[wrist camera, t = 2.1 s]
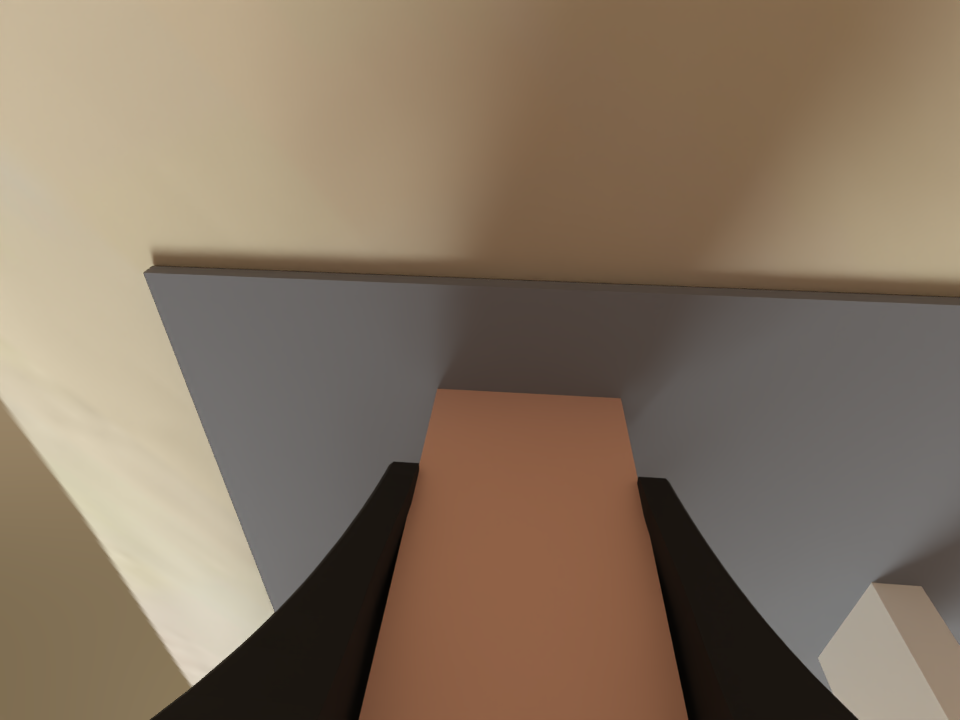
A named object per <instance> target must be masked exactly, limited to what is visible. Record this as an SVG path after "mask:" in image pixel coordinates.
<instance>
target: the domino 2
mask: <svg viewBox="0 0 960 720" xmlns="http://www.w3.org/2000/svg"><path fill="white" fill-rule="evenodd" d="M818 659H819V662H820V664H821V667H822V669H823V671H824V674H825V676H826V678H827V681H828V683H829V686H830V688H831V690H832V693H833V695H834V696H835V697H836V698H837V699H838V700H839V701H840V702H841V703H842V704H843V705H844V706H845V707H846V708H847V709H848V710H849V711H850V712H852V713H853V714H854V715H855V716H856V717H857V718H858V719H859V720H960V645H959V644H958V642H957V641H956V639H955V638H954V636H953V635H952V633H951V631H950V630H949V628H948V627H947V625H946V624H945V622H944V621H943V619H942V617H941V616H940V614H939V613H938V611H937V610H936V608H935V607H934V605H933V603H932V602H931V600H930V599H929V597H928V596H927V594H926V593H925V591H924V589H923V588H922V586H912V585H898V584H884V583H871V584H870V585H869V587H868V588H867V590H866V591H865V592H864V594H863V595H862V597H861V598H860V599H859V601H858V602H857V604H856V605H855V606H854V608H853V609H852V611H851V612H850V613H849V615H848V616H847V618H846V619H845V620H844V622H843V623H842V625H841V626H840V627H839V629H838V630H837V632H836V633H835V634H834V636H833V637H832V639H831V640H830V641H829V643H828V644H827V646H826V647H825V648H824V650H823V651H822V653H821V654H820V655H819V657H818Z"/></svg>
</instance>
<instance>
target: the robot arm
mask: <svg viewBox="0 0 960 720" xmlns="http://www.w3.org/2000/svg"><path fill="white" fill-rule="evenodd" d="M418 473H419V463H411V462H394V461H393V462H392V463H391V464H389V466H388V468H387V469H386V471H385V473H384V475H383V476H382V478H381V479H380V481H379V483H378V484H377V486H376V487H375V489H374V491H373V492H372V494H371V495H370V497H369V498H368V500H367V501H366V503H365V504H364V506H363V507H362V509H361V510H360V511H359V513H358V514H357V515H356V517H355V518H354V520H353V521H352V522H351V524H350V525H349V527H348V528H347V529H346V531H345V532H344V533H343V535H342V536H341V537H340V539H339V540H338V541H337V542H336V544H335V545H334V546H333V547H332V549H331V550H330V551H329V552H328V554H327V555H326V556H325V557H324V559H323V560H322V561H321V562H320V564H319V565H318V566H317V567H316V568H315V570H314V571H313V572H312V573H311V574H310V575H309V576H308V578H307V579H306V580H305V581H304V582H303V583H302V584H301V585H300V587H299V588H298V589H297V590H296V591H295V592H294V593H293V594H292V595H291V596H290V597H289V598H288V599H287V601H286V602H285V603H284V604H283V605H282V606H281V607H280V608H279V609H278V610H277V611H276V612H275V613H274V614H273V615H272V616H271V617H270V618H269V619H268V620H267V621H266V622H265V623H264V624H263V625H262V626H261V627H260V628H259V629H258V630H257V631H256V632H254V633H253V634H252V635H251V636H250V637H249V638H248V639H247V640H246V641H245V642H244V643H243V644H242V645H240V646H239V647H238V648H237V649H236V650H235V651H234V652H232V653H231V654H230V655H229V656H228V657H227V658H226V659H224V660H223V661H222V662H221V663H220V664H219V665H217V666H216V667H215V668H214V669H213V670H212V671H210V672H209V673H208V674H207V675H206V676H205V677H204V678H202V679H201V680H200V681H199V682H198V683H196V684H195V685H194V686H193V687H191V688H190V689H189V690H188V691H187V692H185V693H184V694H183V695H181V696H180V697H179V698H177V699H176V700H175V701H174V702H172V703H171V704H170V705H168V706H167V707H166V708H164V709H163V710H162V711H161V712H159V713H158V714H157V715H156V716H154V717H153V718H151V719H150V720H359V717H360V712H361V708H362V704H363V700H364V695H365V691H366V687H367V683H368V679H369V674H370V670H371V666H372V662H373V657H374V653H375V649H376V645H377V641H378V636H379V632H380V628H381V624H382V620H383V615H384V611H385V607H386V603H387V598H388V594H389V590H390V586H391V582H392V577H393V573H394V569H395V565H396V561H397V556H398V552H399V548H400V544H401V539H402V535H403V531H404V527H405V523H406V518H407V515H408V512H409V509H410V506H411V503H412V499H413V495H414V491H415V486H416V482H417V478H418ZM637 485H638V490H639V495H640V500H641V505H642V510H643V514H644V519H645V522H646V525H647V529H648V532H649V535H650V539H651V544H652V549H653V554H654V558H655V563H656V568H657V573H658V578H659V582H660V587H661V592H662V597H663V601H664V606H665V611H666V616H667V620H668V625H669V630H670V635H671V639H672V644H673V649H674V654H675V659H676V663H677V668H678V673H679V678H680V682H681V687H682V692H683V697H684V701H685V706H686V711H687V716H688V720H859V719H858V718H857V717H856V716H855V715H854V714H853V713H852V712H850V711H849V710H848V709H847V708H846V707H845V706H844V705H843V704H842V703H841V702H840V701H839V700H838V699H837V698H836V697H835V696H834V695H833V694H832V693H831V692H830V691H829V690H828V689H827V688H826V687H825V686H824V685H823V684H822V683H821V682H820V681H819V680H818V679H817V678H816V677H815V676H814V675H813V673H812V672H811V671H810V670H809V669H808V668H807V667H806V666H805V665H804V664H803V663H802V662H801V661H800V659H799V658H798V657H797V656H796V655H795V654H794V653H793V652H792V651H791V650H790V649H789V647H788V646H787V645H786V644H785V643H784V642H783V641H782V639H781V638H780V637H779V636H778V635H777V634H776V632H775V631H774V630H773V629H772V628H771V627H770V626H769V624H768V623H767V622H766V621H765V620H764V618H763V617H762V616H761V615H760V613H759V612H758V611H757V610H756V608H755V607H754V606H753V605H752V603H751V602H750V601H749V600H748V598H747V597H746V596H745V594H744V593H743V592H742V591H741V589H740V588H739V587H738V585H737V584H736V583H735V581H734V580H733V579H732V577H731V576H730V575H729V573H728V572H727V570H726V569H725V568H724V566H723V565H722V563H721V562H720V561H719V559H718V558H717V556H716V555H715V553H714V552H713V550H712V549H711V548H710V546H709V545H708V543H707V542H706V540H705V539H704V537H703V536H702V534H701V533H700V531H699V530H698V528H697V527H696V525H695V523H694V522H693V520H692V519H691V517H690V516H689V514H688V512H687V511H686V509H685V508H684V506H683V504H682V503H681V501H680V499H679V498H678V496H677V494H676V493H675V491H674V489H673V487H672V486H671V484H670V482H669V481H668V480H667V479H666V478H653V477H638V481H637Z"/></svg>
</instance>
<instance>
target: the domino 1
mask: <svg viewBox="0 0 960 720" xmlns="http://www.w3.org/2000/svg"><path fill="white" fill-rule="evenodd" d="M637 481H638V477H637V473H636V468H635V463H634V458H633V454H632V449H631V444H630V439H629V435H628V430H627V425H626V420H625V416H624V411H623V406H622V401H621V398H605V397H586V396H567V395H548V394H529V393H510V392H491V391H472V390H453V389H437V392H436V396H435V400H434V405H433V409H432V413H431V417H430V421H429V426H428V430H427V434H426V438H425V442H424V447H423V451H422V455H421V459H420V464H419V473H418V478H417V482H416V486H415V491H414V495H413V499H412V503H411V506H410V509H409V512H408V515H407V518H406V523H405V527H404V531H403V535H402V539H401V544H400V548H399V552H398V556H397V561H396V565H395V569H394V573H393V577H392V582H391V586H390V590H389V594H388V598H387V603H386V607H385V611H384V615H383V620H382V624H381V628H380V632H379V636H378V641H377V645H376V649H375V653H374V657H373V662H372V666H371V670H370V674H369V679H368V683H367V687H366V691H365V695H364V700H363V704H362V708H361V712H360V717H359V720H688V716H687V711H686V706H685V701H684V697H683V692H682V687H681V682H680V678H679V673H678V668H677V663H676V659H675V654H674V649H673V644H672V639H671V635H670V630H669V625H668V620H667V616H666V611H665V606H664V601H663V597H662V592H661V587H660V582H659V578H658V573H657V568H656V563H655V558H654V554H653V549H652V544H651V539H650V535H649V532H648V529H647V525H646V522H645V519H644V514H643V510H642V505H641V500H640V495H639V490H638V485H637Z"/></svg>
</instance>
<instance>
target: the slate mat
mask: <svg viewBox="0 0 960 720" xmlns="http://www.w3.org/2000/svg"><path fill="white" fill-rule="evenodd" d="M144 276H145V278H146V281H147V284H148V286H149V289H150V291H151V294H152V296H153V299H154V302H155V304H156V307H157V309H158V312H159V315H160V317H161V320H162V322H163V325H164V327H165V330H166V333H167V335H168V338H169V340H170V343H171V346H172V348H173V351H174V353H175V356H176V358H177V361H178V364H179V366H180V369H181V371H182V374H183V377H184V379H185V382H186V384H187V387H188V389H189V392H190V395H191V397H192V400H193V402H194V405H195V408H196V410H197V413H198V415H199V418H200V420H201V423H202V426H203V428H204V431H205V433H206V436H207V439H208V441H209V444H210V446H211V449H212V451H213V454H214V457H215V459H216V462H217V464H218V467H219V470H220V472H221V475H222V477H223V480H224V482H225V485H226V488H227V490H228V493H229V495H230V498H231V501H232V503H233V506H234V508H235V511H236V513H237V516H238V519H239V521H240V524H241V526H242V529H243V532H244V534H245V537H246V539H247V542H248V544H249V547H250V550H251V552H252V555H253V557H254V560H255V563H256V565H257V568H258V570H259V573H260V575H261V578H262V581H263V583H264V586H265V588H266V591H267V594H268V596H269V599H270V601H271V604H272V606H273V609H274V612H276V611H277V610H278V609H279V608H280V607H281V606H282V605H283V604H284V603H285V602H286V601H287V599H288V598H289V597H290V596H291V595H292V594H293V593H294V592H295V591H296V590H297V589H298V588H299V587H300V585H301V584H302V583H303V582H304V581H305V580H306V579H307V578H308V576H309V575H310V574H311V573H312V572H313V571H314V570H315V568H316V567H317V566H318V565H319V564H320V562H321V561H322V560H323V559H324V557H325V556H326V555H327V554H328V552H329V551H330V550H331V549H332V547H333V546H334V545H335V544H336V542H337V541H338V540H339V539H340V537H341V536H342V535H343V533H344V532H345V531H346V529H347V528H348V527H349V525H350V524H351V522H352V521H353V520H354V518H355V517H356V515H357V514H358V513H359V511H360V510H361V509H362V507H363V506H364V504H365V503H366V501H367V500H368V498H369V497H370V495H371V494H372V492H373V491H374V489H375V487H376V486H377V484H378V483H379V481H380V479H381V478H382V476H383V475H384V473H385V471H386V469H387V468H388V466H389V464H391V463H392V462H393V461H394V462H411V463H419V464H420V459H421V455H422V451H423V447H424V442H425V438H426V434H427V430H428V426H429V421H430V417H431V413H432V409H433V405H434V400H435V396H436V392H437V389H453V390H472V391H491V392H510V393H529V394H548V395H567V396H586V397H605V398H621V401H622V406H623V411H624V416H625V420H626V425H627V430H628V435H629V439H630V444H631V449H632V454H633V458H634V463H635V468H636V473H637V477H653V478H666V479H667V480H668V481H669V482H670V484H671V486H672V487H673V489H674V491H675V493H676V494H677V496H678V498H679V499H680V501H681V503H682V504H683V506H684V508H685V509H686V511H687V512H688V514H689V516H690V517H691V519H692V520H693V522H694V523H695V525H696V527H697V528H698V530H699V531H700V533H701V534H702V536H703V537H704V539H705V540H706V542H707V543H708V545H709V546H710V548H711V549H712V550H713V552H714V553H715V555H716V556H717V558H718V559H719V561H720V562H721V563H722V565H723V566H724V568H725V569H726V570H727V572H728V573H729V575H730V576H731V577H732V579H733V580H734V581H735V583H736V584H737V585H738V587H739V588H740V589H741V591H742V592H743V593H744V594H745V596H746V597H747V598H748V600H749V601H750V602H751V603H752V605H753V606H754V607H755V608H756V610H757V611H758V612H759V613H760V615H761V616H762V617H763V618H764V620H765V621H766V622H767V623H768V624H769V626H770V627H771V628H772V629H773V630H774V631H775V632H776V634H777V635H778V636H779V637H780V638H781V639H782V641H783V642H784V643H785V644H786V645H787V646H788V647H789V649H790V650H791V651H792V652H793V653H794V654H795V655H796V656H797V657H798V658H799V659H800V661H801V662H802V663H803V664H804V665H805V666H806V667H807V668H808V669H809V670H810V671H811V672H812V673H813V675H814V676H815V677H816V678H817V679H818V680H819V681H820V682H821V683H822V684H823V685H824V686H825V687H826V688H827V689H828V690H829V691H830V692H831V693H832V690H831V688H830V686H829V683H828V681H827V678H826V676H825V674H824V671H823V669H822V667H821V664H820V662H819V659H818V657H819V655H820V654H821V653H822V651H823V650H824V648H825V647H826V646H827V644H828V643H829V641H830V640H831V639H832V637H833V636H834V634H835V633H836V632H837V630H838V629H839V627H840V626H841V625H842V623H843V622H844V620H845V619H846V618H847V616H848V615H849V613H850V612H851V611H852V609H853V608H854V606H855V605H856V604H857V602H858V601H859V599H860V598H861V597H862V595H863V594H864V592H865V591H866V590H867V588H868V587H869V585H870V584H871V583H884V584H898V585H912V586H922V588H923V589H924V591H925V593H926V594H927V596H928V597H929V599H930V600H931V602H932V603H933V605H934V607H935V608H936V610H937V611H938V613H939V614H940V616H941V617H942V619H943V621H944V622H945V624H946V625H947V627H948V628H949V630H950V631H951V633H952V635H953V636H954V638H955V639H956V641H957V642H958V644H959V645H960V298H959V297H933V296H908V295H882V294H857V293H831V292H805V291H780V290H754V289H729V288H703V287H678V286H652V285H627V284H601V283H576V282H550V281H525V280H499V279H474V278H448V277H423V276H397V275H372V274H346V273H321V272H295V271H270V270H244V269H218V268H193V267H167V266H152V267H150V268H149V269H148V270H146V271H145V272H144ZM832 694H833V693H832Z"/></svg>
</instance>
